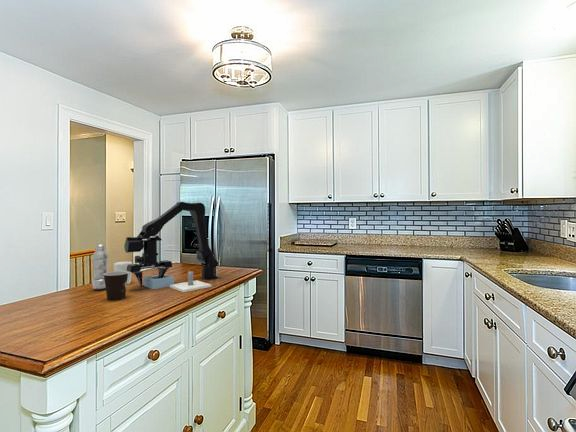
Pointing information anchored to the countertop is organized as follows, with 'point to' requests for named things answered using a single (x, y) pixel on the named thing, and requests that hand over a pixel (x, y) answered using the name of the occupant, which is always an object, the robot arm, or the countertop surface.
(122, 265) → the white cup
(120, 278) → the coffee mug
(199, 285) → the white base with peg
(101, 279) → the plastic bottle
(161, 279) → the loop frame
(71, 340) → the countertop surface
